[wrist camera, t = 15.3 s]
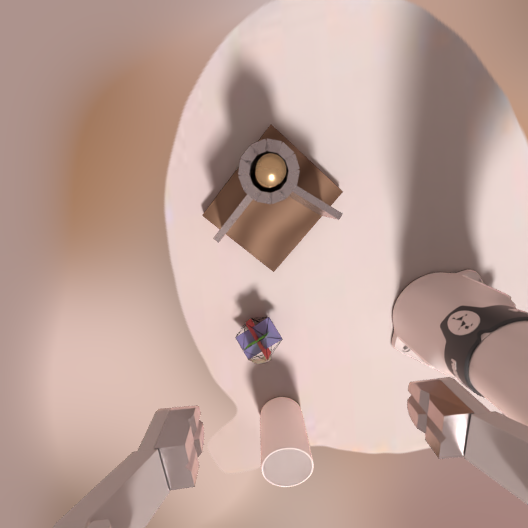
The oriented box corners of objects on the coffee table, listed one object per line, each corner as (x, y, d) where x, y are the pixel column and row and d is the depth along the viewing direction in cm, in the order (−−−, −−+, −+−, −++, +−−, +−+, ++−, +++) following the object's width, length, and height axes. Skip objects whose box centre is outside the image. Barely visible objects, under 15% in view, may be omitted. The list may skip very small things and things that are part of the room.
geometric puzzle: (223, 321, 40) (237, 368, 35) (257, 300, 39) (277, 344, 34) (244, 333, 46) (259, 374, 41) (274, 314, 45) (293, 354, 40)
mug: (320, 426, 49) (336, 483, 39) (287, 446, 50) (295, 507, 40) (285, 387, 47) (293, 438, 37) (251, 410, 48) (250, 465, 38)
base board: (339, 192, 38) (342, 191, 36) (273, 269, 40) (273, 271, 39) (270, 127, 35) (270, 124, 33) (204, 214, 38) (202, 215, 36)
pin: (279, 177, 35) (292, 168, 24) (266, 194, 36) (272, 192, 24) (264, 163, 35) (269, 146, 23) (250, 180, 35) (249, 172, 24)
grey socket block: (329, 204, 37) (352, 206, 28) (273, 269, 39) (278, 290, 30) (262, 144, 34) (265, 125, 25) (206, 217, 36) (191, 223, 28)
